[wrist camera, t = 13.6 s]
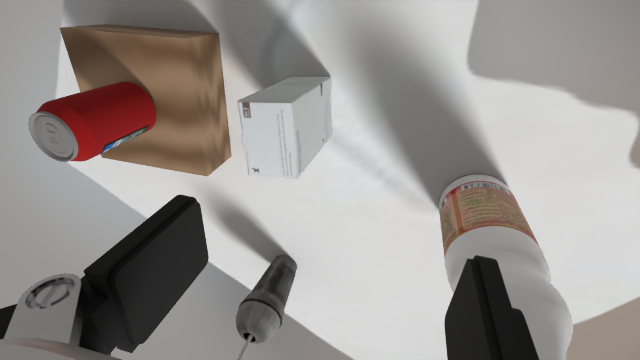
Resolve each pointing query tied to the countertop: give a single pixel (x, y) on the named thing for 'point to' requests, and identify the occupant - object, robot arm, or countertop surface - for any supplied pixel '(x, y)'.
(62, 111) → the beverage can
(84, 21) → the countertop surface
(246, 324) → the beverage cup
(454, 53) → the countertop surface
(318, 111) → the skincare box
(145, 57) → the walnut block
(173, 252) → the robot arm
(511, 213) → the fruit juice
